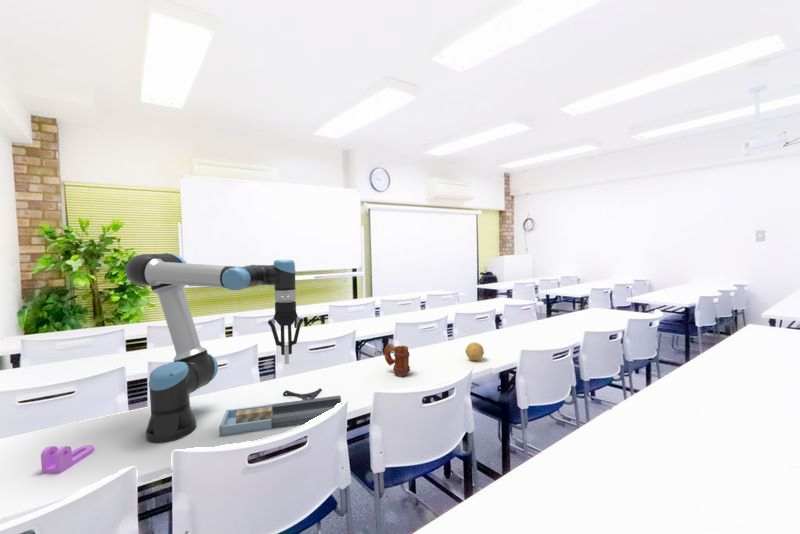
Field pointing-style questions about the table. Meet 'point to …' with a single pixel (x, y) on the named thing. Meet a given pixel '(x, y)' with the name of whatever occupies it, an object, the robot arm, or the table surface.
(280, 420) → the slot bed
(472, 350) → the stress ball
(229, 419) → the tray
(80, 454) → the bracket
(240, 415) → the wooden cube
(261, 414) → the wooden cube
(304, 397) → the bracket
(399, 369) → the mug
